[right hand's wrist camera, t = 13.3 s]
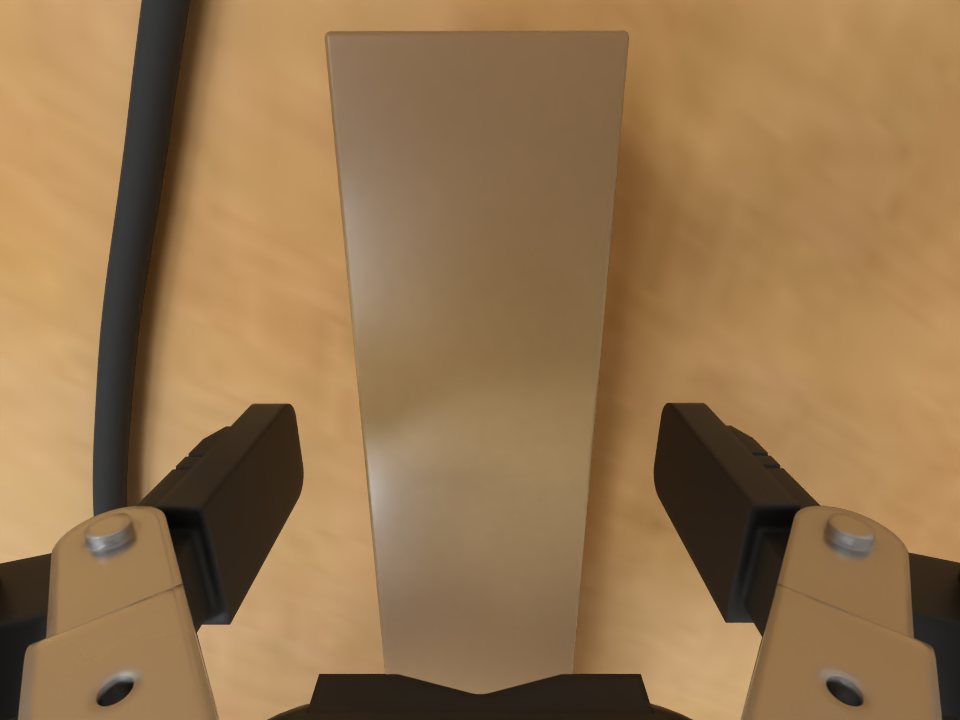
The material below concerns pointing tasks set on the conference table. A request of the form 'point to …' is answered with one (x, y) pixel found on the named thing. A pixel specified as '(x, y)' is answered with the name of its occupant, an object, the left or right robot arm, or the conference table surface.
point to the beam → (477, 330)
